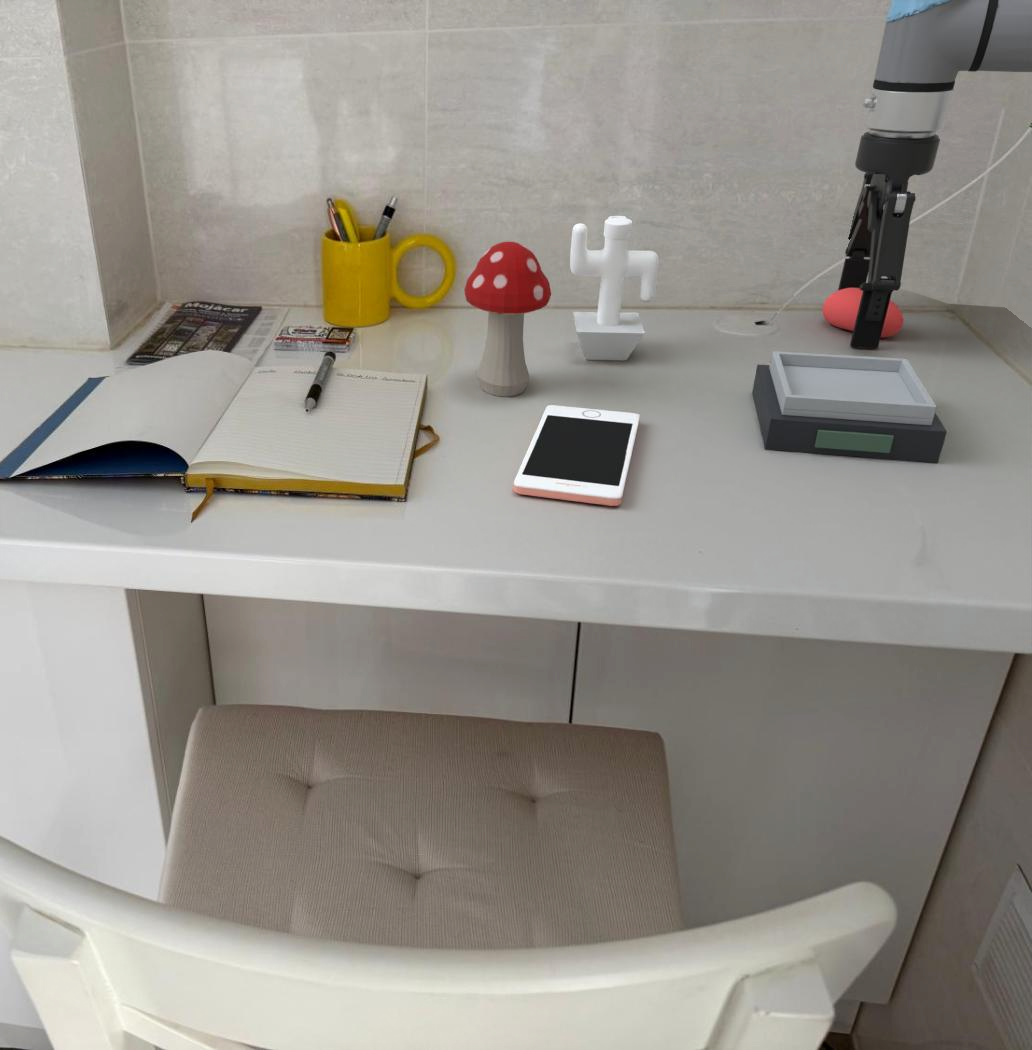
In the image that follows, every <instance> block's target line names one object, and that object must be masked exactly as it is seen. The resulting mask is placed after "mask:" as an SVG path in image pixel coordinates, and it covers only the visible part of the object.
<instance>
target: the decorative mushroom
mask: <svg viewBox="0 0 1032 1050" xmlns="http://www.w3.org/2000/svg"><path fill="white" fill-rule="evenodd" d="M551 296H552V290H551V285H550V281H549V279H548V277H547V276H546V275H545V273H544V272H543V270H542V268H541V265H540V262H539V260H538V258H537V257H536V255H535V253H534V252H533V251H532V250H531V249H529V248H528V247H527V246H525V245H524V244H521V243H519V242H515V241H502V242H498V243H496V244H494V245H493V246H491V247H489V248H488V249H487V250H486V251H485V252H484V253H483V254H482V256H481V257H480V259H479V260H478V262H477V263H476V266H475V268H474V270H473V271H472V273H470V275H469V276H468V278H467V279H466V283H465V286H464V297H465V300H466V302H467V303H468V304H469V305H471V306H473V307H475V308H476V309H479V310H482V311H484V312H488V313H487V314H488V315H487V331H486V332H487V333H486V341H485V344H484V350H483V354H482V358H481V361H480V363H479V366H478V368H477V370H476V372H477V373H476V374H477V378H478V383H479V387H480V388H481V390H482V391H483V392H485V393H487V394H489V395H492V396H497V397H506V398H507V397H508V398H509V397H514V396H518V395H520V394H522V393H523V392H525V389H526V387H527V384H528V382H529V379H530V373H529V370H528V367H527V363H526V357H525V348H524V347H525V345H524V326H525V325H524V322H525V314H528V313H532V312H535V311H539V310H541V309H543V308H545V307H546V306H547V305H548V304H549V302H550V300H551Z"/></svg>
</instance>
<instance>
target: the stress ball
mask: <svg viewBox="0 0 1032 1050" xmlns="http://www.w3.org/2000/svg"><path fill="white" fill-rule="evenodd" d="M862 293H863V290H860V288H846V289H842V290H838V289H837V290H836V291H834V292H833V293H832V294H830V295H829V296H828V297H826V299H825V301H824V302H823V306H822V309H821V313H822V316H823V318H824V320H825V321H826V322H827V323H829V324H830V325H832V326H833V327H834V326H835V327H836V328H840V329H843V330H848V331H851V332H853V330H854V326H855V322H856V318H857V314H858V309H859V305H860V301H861V297H862ZM904 321H905V319H904V315H903V312H902V311H901V309H900V307H899V306H898V305H897V304H896V303H895V302H894V301H893V300H892V299H890V302H889V306H888V310H887V314H886V318H885V322H884V326H883V330H882V333H881V337H880V338H890V337H892V336H895V335H896V334H897V333H899V332H900V330H901V329H902V328H903V326H904Z"/></svg>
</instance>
